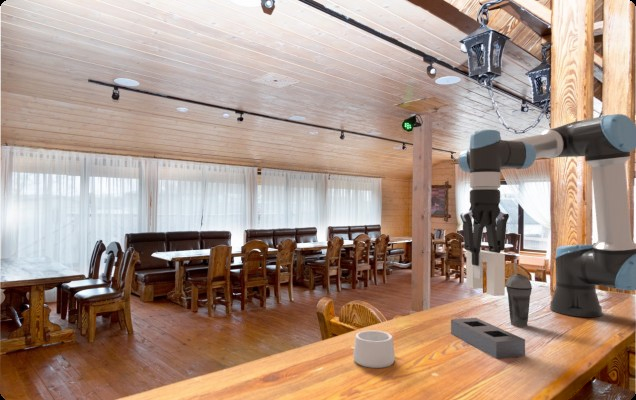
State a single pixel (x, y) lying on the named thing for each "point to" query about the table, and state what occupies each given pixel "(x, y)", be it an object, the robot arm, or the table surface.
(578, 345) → the table surface
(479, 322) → the cinder block
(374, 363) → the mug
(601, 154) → the robot arm
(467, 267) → the white arch
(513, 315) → the beverage cup
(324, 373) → the table surface
